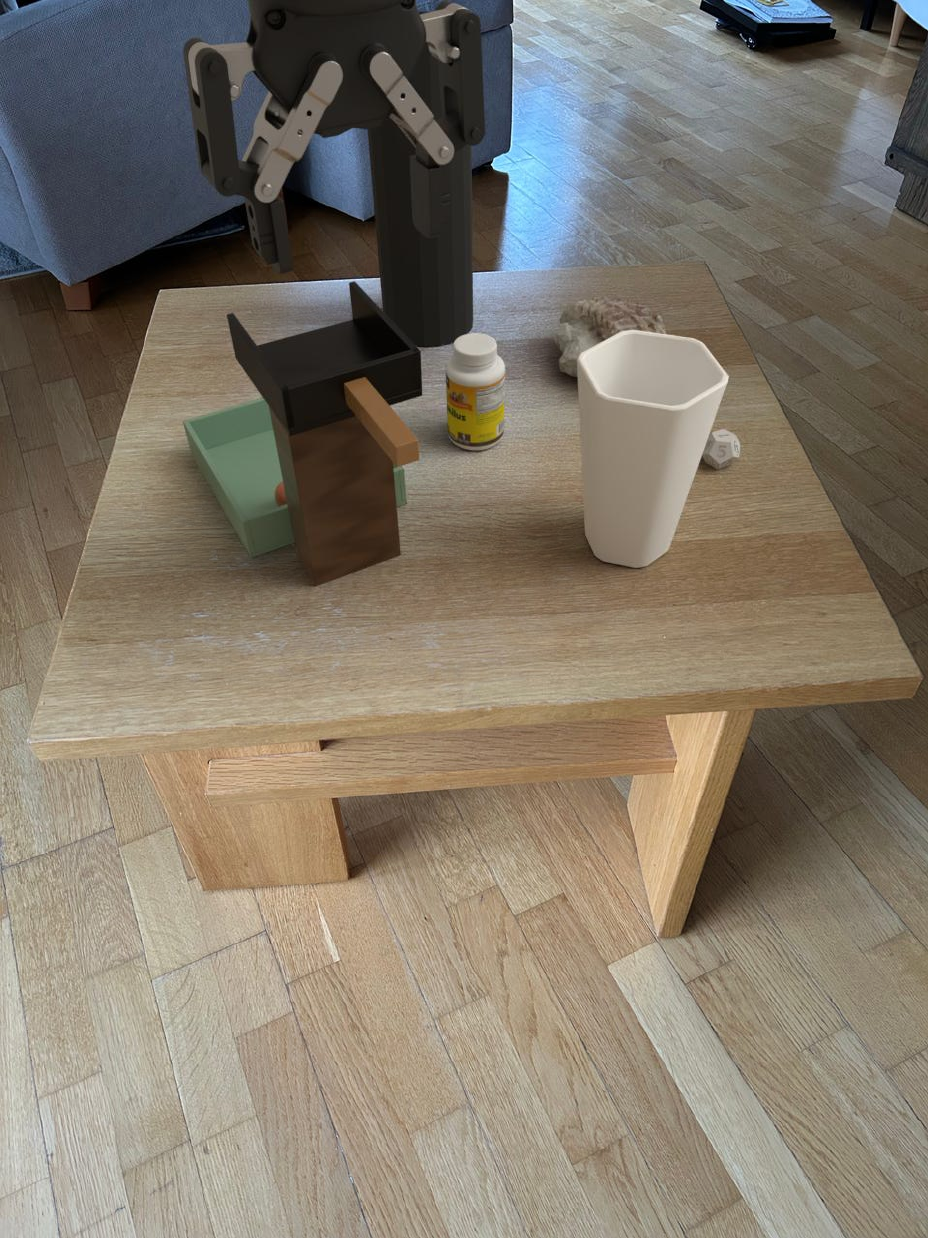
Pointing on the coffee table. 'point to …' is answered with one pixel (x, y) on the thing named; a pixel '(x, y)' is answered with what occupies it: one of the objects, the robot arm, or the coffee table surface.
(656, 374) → the cup
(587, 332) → the seashell
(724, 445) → the game die
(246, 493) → the tray
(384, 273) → the vase
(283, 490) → the terracotta ball
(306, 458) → the block
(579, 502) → the coffee table surface
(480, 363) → the supplement bottle
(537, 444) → the coffee table surface
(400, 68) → the robot arm
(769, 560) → the coffee table surface
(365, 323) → the pan
